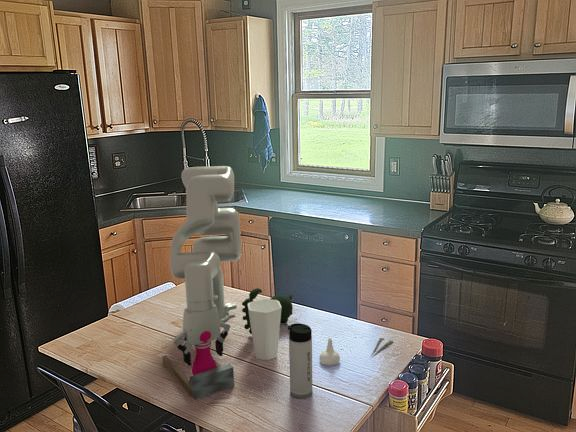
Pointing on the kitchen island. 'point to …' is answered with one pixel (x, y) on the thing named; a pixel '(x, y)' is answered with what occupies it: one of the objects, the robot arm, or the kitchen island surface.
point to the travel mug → (300, 360)
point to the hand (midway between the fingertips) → (203, 359)
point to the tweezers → (382, 346)
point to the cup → (265, 327)
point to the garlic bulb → (329, 355)
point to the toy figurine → (284, 300)
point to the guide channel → (203, 379)
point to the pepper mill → (203, 355)
